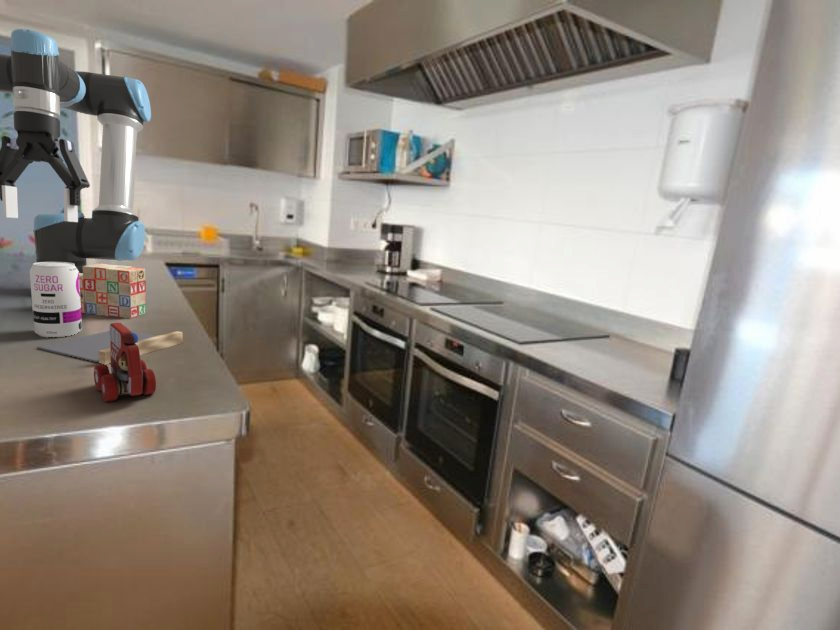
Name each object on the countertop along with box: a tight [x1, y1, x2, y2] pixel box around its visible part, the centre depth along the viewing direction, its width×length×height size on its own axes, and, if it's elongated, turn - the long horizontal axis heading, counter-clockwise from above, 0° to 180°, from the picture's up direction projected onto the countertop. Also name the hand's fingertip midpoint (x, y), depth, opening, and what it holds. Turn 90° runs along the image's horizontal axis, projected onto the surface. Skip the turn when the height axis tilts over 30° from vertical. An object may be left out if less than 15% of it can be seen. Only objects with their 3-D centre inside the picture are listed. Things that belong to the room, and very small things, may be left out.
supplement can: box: [29, 261, 83, 338], centre depth 103 cm, size 8×8×15 cm
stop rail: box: [98, 330, 184, 365], centre depth 97 cm, size 18×2×2 cm, turn 161°
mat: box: [36, 329, 157, 363], centre depth 100 cm, size 18×16×1 cm
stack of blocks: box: [79, 263, 147, 319], centre depth 123 cm, size 21×6×12 cm, turn 85°
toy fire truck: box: [93, 322, 157, 403], centre depth 77 cm, size 7×12×10 cm, turn 43°
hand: (40, 219), depth 102 cm, fingers open, 13 cm apart
